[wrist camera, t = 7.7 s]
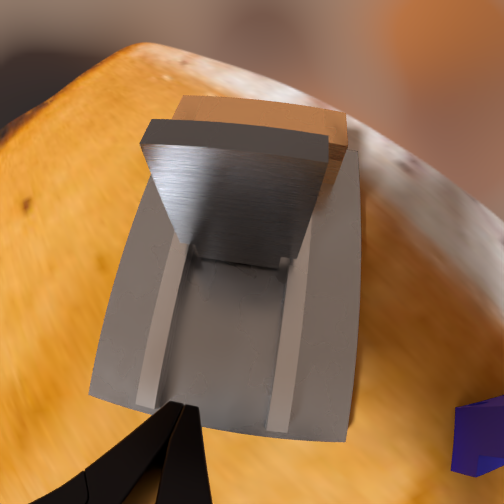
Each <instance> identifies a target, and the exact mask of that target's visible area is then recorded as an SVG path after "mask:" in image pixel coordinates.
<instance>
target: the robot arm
mask: <svg viewBox="0 0 504 504" xmlns="http://www.w3.org/2000/svg"><path fill="white" fill-rule="evenodd" d="M29 504H213V503H212V497H211V491H210V484H209V478H208V471H207V465H206V457H205V450H204V443H203V435H202V427H201V418H200V410H199V407H198V406H193V405H189V404H185V405H184V404H183V403H180V402H175V401H169V402H167V403H166V404H165V405H164V406H163V407H161V408H160V409H159V410H158V411H157V412H155V413H154V414H153V415H152V416H151V417H150V418H148V419H147V420H146V421H145V422H144V423H142V424H141V425H140V426H139V427H137V428H136V429H135V430H134V431H133V432H131V433H130V434H129V435H128V436H126V437H125V438H124V439H123V440H121V441H120V442H119V443H118V444H116V445H115V446H114V447H113V448H111V449H110V450H109V451H108V452H106V453H105V454H104V455H103V456H101V457H100V458H99V459H97V460H96V461H95V462H94V463H92V464H91V465H90V466H88V467H87V468H86V469H85V471H82V472H80V473H79V474H78V475H76V476H75V477H74V478H72V479H71V480H69V481H68V482H66V483H65V484H64V485H62V486H61V487H59V488H57V489H55V490H54V491H52V492H50V493H48V494H47V495H45V496H43V497H41V498H39V499H37V500H35V501H33V502H31V503H29Z"/></svg>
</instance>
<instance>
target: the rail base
mask: <svg viewBox="0 0 504 504" xmlns="http://www.w3.org/2000/svg"><path fill="white" fill-rule="evenodd" d="M172 120H194V121H211V122H225V123H237V124H247V125H257V126H266V127H274V128H282V129H289V130H296V131H303V132H309V133H316V134H322V135H327V136H329V160H328V166H327V169H326V172H325V176H324V179H323V182H322V185H321V188H320V191H319V194H318V197H317V201H316V204H315V207H314V210H313V213H312V216H311V219H310V222H309V225H308V228H307V231H306V234H305V237H304V240H303V243H302V246H301V249H300V251H299V254H298V257H297V259H292V258H285V257H281V259H280V263H279V268H270V267H263V266H256V265H249V264H242V263H235V262H229V261H222V260H215V259H208V258H201V257H199V255H198V252H197V249H196V246H195V245H193V244H186V243H180V241H179V239H178V237H177V234H176V232H175V230H174V227H173V225H172V223H171V220H170V218H169V216H168V213H167V211H166V209H165V206H164V204H163V201H162V199H161V197H160V194H159V192H158V189H157V187H156V184H155V182H154V179H153V177H152V174H151V176H150V178H149V181H148V183H147V186H146V188H145V191H144V194H143V196H142V199H141V202H140V205H139V207H138V210H137V213H136V216H135V218H134V221H133V224H132V227H131V230H130V233H129V236H128V239H127V242H126V245H125V248H124V251H123V255H122V258H121V261H120V264H119V268H118V271H117V274H116V278H115V281H114V285H113V288H112V292H111V296H110V299H109V303H108V307H107V311H106V315H105V319H104V323H103V327H102V331H101V335H100V340H99V344H98V349H97V353H96V358H95V363H94V368H93V373H92V378H91V383H90V389H89V395H91V396H93V397H96V398H99V399H102V400H105V401H108V402H111V403H114V404H117V405H120V406H123V407H127V408H130V409H133V410H137V411H140V412H144V413H147V414H151V415H153V414H154V413H155V412H157V411H158V410H159V409H160V408H161V407H163V406H164V405H165V404H166V403H167V402H169V401H175V402H180V403H183V404H184V405H185V404H189V405H193V406H198V407H199V410H200V418H201V427H206V428H212V429H217V430H223V431H229V432H235V433H241V434H248V435H255V436H263V437H272V438H281V439H292V440H306V441H324V442H345V441H346V435H347V429H348V422H349V415H350V408H351V400H352V392H353V383H354V374H355V364H356V353H357V341H358V326H359V309H360V284H361V207H360V182H359V164H358V151H353V150H348V149H347V147H348V138H347V122H346V113H343V112H338V111H333V110H327V109H321V108H315V107H309V106H303V105H296V104H289V103H281V102H273V101H264V100H254V99H243V98H230V97H213V96H186V95H183V97H182V99H181V101H180V103H179V105H178V107H177V109H176V111H175V113H174V116H173V118H172Z"/></svg>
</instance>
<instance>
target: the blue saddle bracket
mask: <svg viewBox="0 0 504 504" xmlns="http://www.w3.org/2000/svg"><path fill="white" fill-rule="evenodd" d="M503 465H504V395H502V396H498V397H495V398H491V399H488V400H484V401H481V402H477V403H473V404H469V405H465V406H460V407H456V408H455V429H454V444H453V455H452V464H451V471H453V472H457V473H461V474H464V475H468V476H472V477H478V476H481V475H483V474H485V473H488V472H490V471H492V470H495V469H497V468H499V467H501V466H503Z"/></svg>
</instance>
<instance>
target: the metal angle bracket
mask: <svg viewBox="0 0 504 504" xmlns="http://www.w3.org/2000/svg"><path fill="white" fill-rule="evenodd" d="M140 146H141V149H142V152H143V154H144V157H145V159H146V162H147V164H148V167H149V169H150V172H151V174H152V177H153V179H154V182H155V184H156V187H157V189H158V192H159V194H160V197H161V199H162V201H163V204H164V206H165V209H166V211H167V213H168V216H169V218H170V220H171V223H172V225H173V227H174V230H175V232H176V234H177V237H178V239H179V241H180V243H186V244H193V245H195V246H196V249H197V252H198V255H199V257H201V258H208V259H215V260H222V261H229V262H235V263H242V264H249V265H256V266H263V267H270V268H279V263H280V259H281V257H285V258H292V259H297V257H298V254H299V251H300V249H301V246H302V243H303V240H304V237H305V234H306V231H307V228H308V225H309V222H310V219H311V216H312V213H313V210H314V207H315V204H316V201H317V197H318V194H319V191H320V188H321V185H322V182H323V179H324V176H325V172H326V169H327V166H328V160H329V136H327V135H322V134H316V133H309V132H303V131H296V130H289V129H282V128H274V127H266V126H257V125H247V124H237V123H225V122H211V121H194V120H169V119H152V120H151V122H150V124H149V125H148V127H147V129H146V131H145V133H144V135H143V138H142V140H141V142H140Z"/></svg>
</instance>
